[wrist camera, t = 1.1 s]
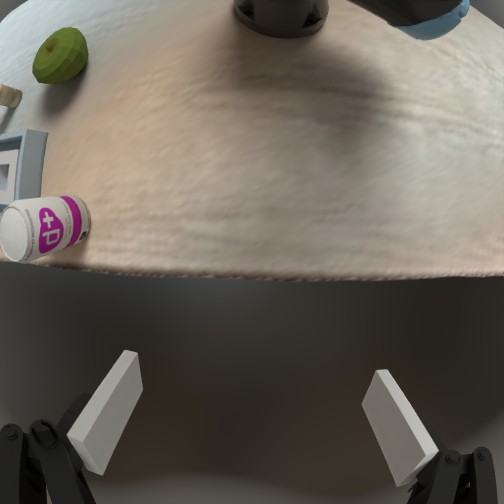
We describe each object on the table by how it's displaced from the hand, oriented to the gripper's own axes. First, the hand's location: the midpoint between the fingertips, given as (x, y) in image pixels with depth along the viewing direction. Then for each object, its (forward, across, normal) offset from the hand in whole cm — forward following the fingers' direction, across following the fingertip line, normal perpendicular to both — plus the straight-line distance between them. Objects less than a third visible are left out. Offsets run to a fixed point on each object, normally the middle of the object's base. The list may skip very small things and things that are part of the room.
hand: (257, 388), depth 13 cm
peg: (+27, -52, +28) cm, 66 cm away
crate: (+27, -48, +11) cm, 56 cm away
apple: (+27, -35, +32) cm, 55 cm away
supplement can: (+27, -30, +4) cm, 41 cm away
